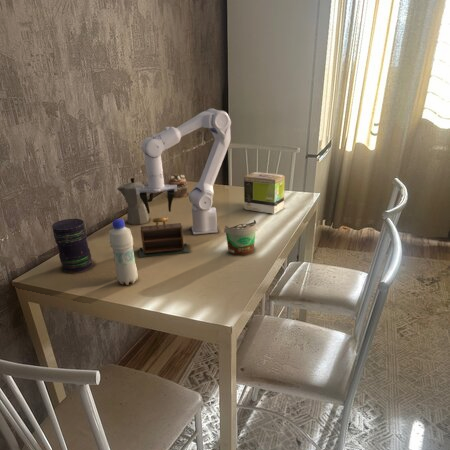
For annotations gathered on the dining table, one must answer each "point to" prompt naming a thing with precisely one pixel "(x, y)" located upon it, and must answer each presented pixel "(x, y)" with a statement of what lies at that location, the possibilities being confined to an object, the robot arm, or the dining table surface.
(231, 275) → the dining table surface
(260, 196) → the tea box
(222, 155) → the robot arm
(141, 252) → the flat teal board
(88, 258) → the storage jar
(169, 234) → the drawer
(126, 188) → the coffeepot
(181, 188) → the cupcake
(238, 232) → the food container
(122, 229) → the bottle
